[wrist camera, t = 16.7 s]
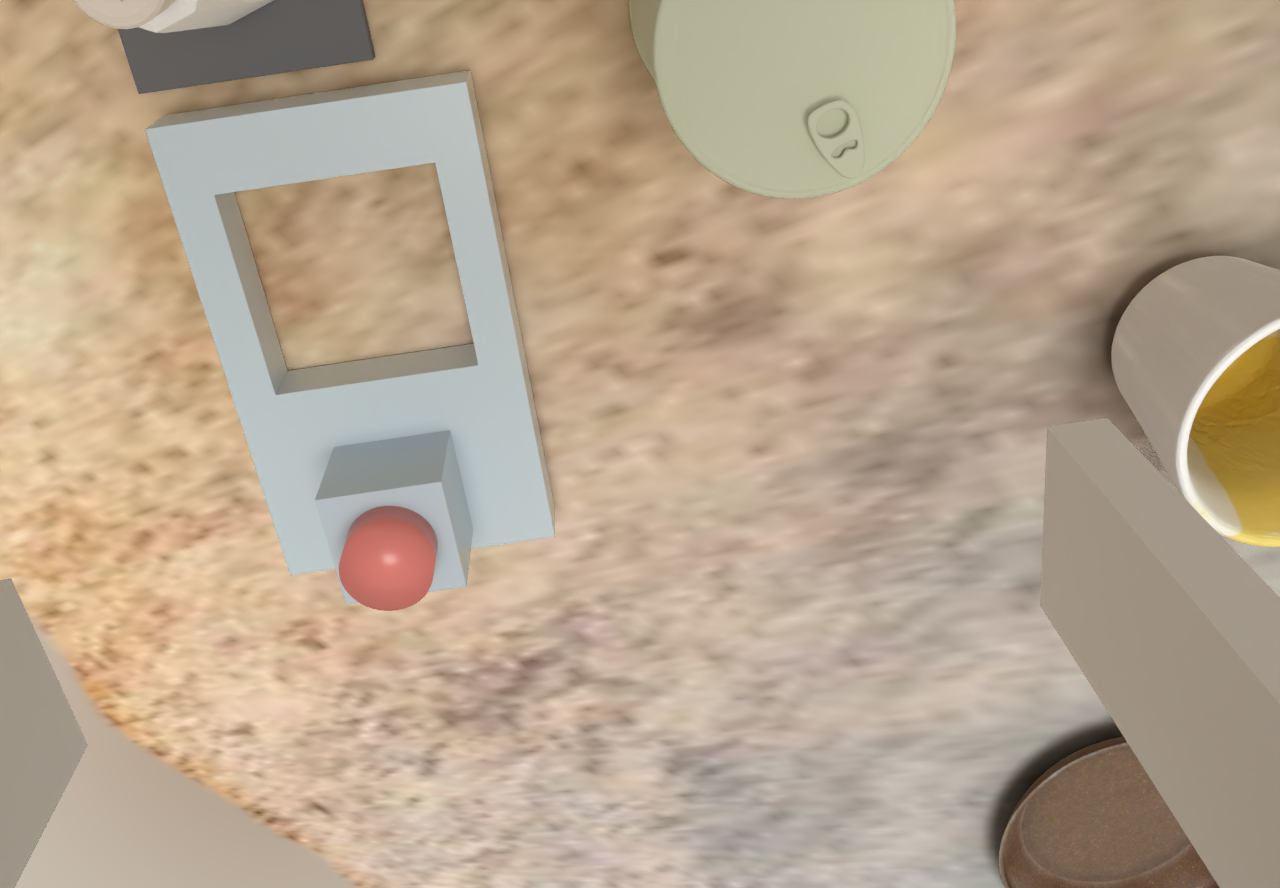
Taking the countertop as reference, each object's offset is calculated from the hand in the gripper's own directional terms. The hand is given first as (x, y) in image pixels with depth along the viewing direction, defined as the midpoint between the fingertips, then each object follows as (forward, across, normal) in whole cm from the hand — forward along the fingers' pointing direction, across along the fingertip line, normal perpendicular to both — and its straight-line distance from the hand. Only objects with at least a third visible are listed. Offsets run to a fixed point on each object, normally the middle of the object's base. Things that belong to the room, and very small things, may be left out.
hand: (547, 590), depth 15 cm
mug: (+35, +27, -16) cm, 47 cm away
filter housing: (+35, -9, -9) cm, 37 cm away
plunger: (+28, -9, -15) cm, 33 cm away
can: (+35, +8, +2) cm, 36 cm away
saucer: (+35, +25, -44) cm, 62 cm away
